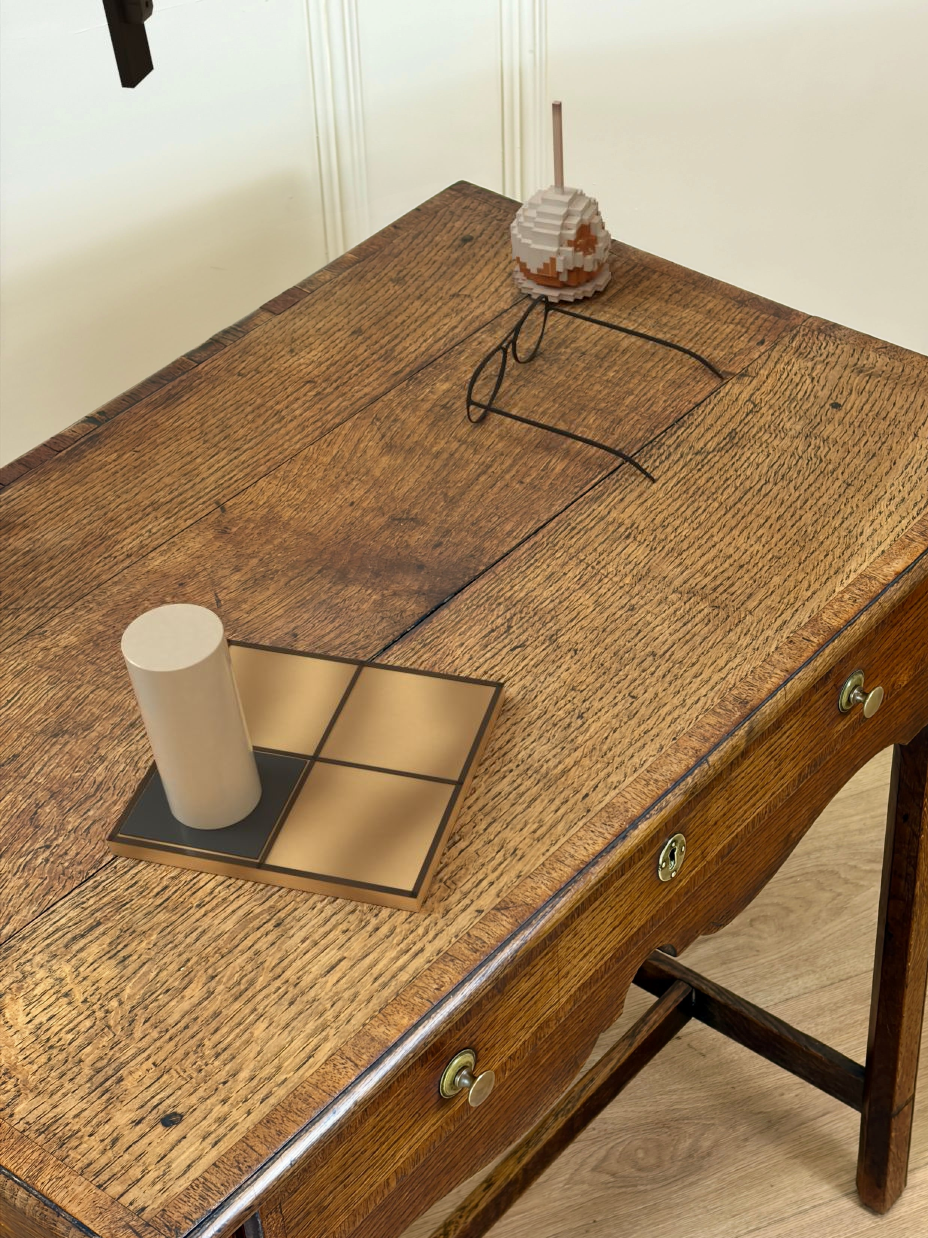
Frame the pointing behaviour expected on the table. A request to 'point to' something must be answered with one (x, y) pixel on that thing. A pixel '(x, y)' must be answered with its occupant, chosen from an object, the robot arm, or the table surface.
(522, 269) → the caramel apple
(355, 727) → the board
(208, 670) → the cream cylinder
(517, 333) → the glasses
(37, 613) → the table surface
